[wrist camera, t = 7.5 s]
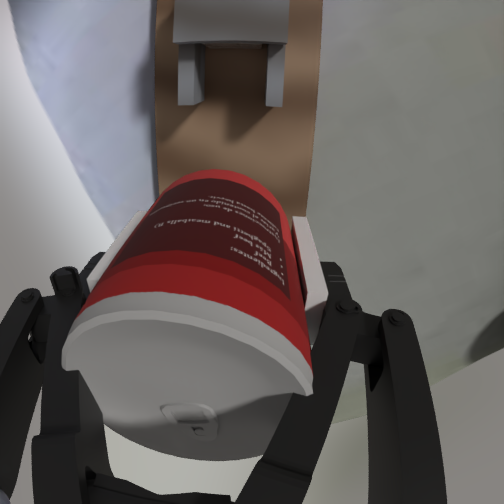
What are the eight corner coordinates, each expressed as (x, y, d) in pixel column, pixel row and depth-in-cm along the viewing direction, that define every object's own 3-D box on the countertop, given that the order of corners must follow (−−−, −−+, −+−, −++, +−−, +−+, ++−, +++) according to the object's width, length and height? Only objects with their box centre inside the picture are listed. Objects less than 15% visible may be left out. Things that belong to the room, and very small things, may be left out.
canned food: (199, 307, 20) (166, 468, 11) (126, 204, 17) (15, 349, 7) (312, 263, 19) (348, 439, 9) (249, 138, 15) (232, 257, 6)
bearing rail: (166, -53, 15) (139, -84, 10) (320, -52, 15) (338, -86, 10) (166, 235, 29) (145, 277, 23) (300, 240, 29) (309, 285, 23)
